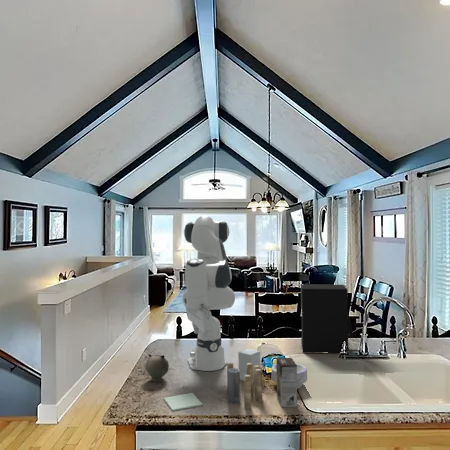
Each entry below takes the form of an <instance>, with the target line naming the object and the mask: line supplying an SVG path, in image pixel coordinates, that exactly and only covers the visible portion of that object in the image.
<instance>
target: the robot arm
mask: <svg viewBox="0 0 450 450" xmlns="http://www.w3.org/2000/svg"><path fill="white" fill-rule="evenodd" d="M183 236H184V239H185V241H186V242H187V243H189V244H191V246H192V247H193V248H194V249H195V251H197V256H196V257H197V258H193V259H189V260H187V261H186V263H185V270H184V272H183V279H184V282H183V283H184V285H185V287H186V289H185V291H184V292H183V294H182V298H181V299H182V303H183V306H184V308H185V311H186V316H187V320H188V321H190V322H191V325H192V328H193V333H194V334H196V335H197V339H196V345H195V346H194V347H193V348H192V351H191V352H189V356H190V357H188V358H187V362H188V365H189V367H190V369H191V370H194V371H195V370H199V371H204V372H205V371H206V372H211V371H212V372H214V371H218V370H222V369H223V368H224V367H225V366H227V363H228V361H226V359H225V348H224V347H223V346H222V337H221V322H220V320H219V319H218V318H217V317H215V316H213V315H212V312H211V310H214V311H215V310H226V309H230V308H232V307H233V306H234V304H235V301H236V296H235V295H236V294H235V291H234V290H233V289H232V288H230V286H229V285H230V284H231V283H232V279H233V277H232V270H231V268H230V266H229V261H228V258H227V253H226V250H225V246H224V243H225V242H227V240H228V238H229V236H230V228H229V225H228V223H227V222H226V221H223V220H214V219H213V218H212V217H210V216H208V215H201V216H199V217H198V218H196V220H195V221H190V222H188V223H186V225H185V226H184V229H183Z"/></svg>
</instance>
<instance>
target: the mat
mask: <svg viewBox="0 0 450 450" xmlns="http://www.w3.org/2000/svg"><path fill="white" fill-rule="evenodd" d="M163 400H164V401H165V403H166V404H167V406H168V407H169V409H170V410H171V412H175V411H176V412H177V411H180V410H186V409H190V408H197V407H202V406H203V403H202V402H201V401H200V399H198V397H197V396H196V395H195V394H194V393H193V392H190V393H184V394H183V393H182V394H178V395H172V396H167V397H163Z"/></svg>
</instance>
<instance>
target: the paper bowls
mask: <svg viewBox="0 0 450 450" xmlns="http://www.w3.org/2000/svg"><path fill="white" fill-rule="evenodd" d="M296 365H297V390H298V389H300V388H301V387H302V386H303V384H304V383H306V382H308V368H307V367H306V366H305V365H303V364H299V363H296ZM271 380H272V381H273V382H274V383H276V384H277V363H275V364H273V365H272V366H271Z"/></svg>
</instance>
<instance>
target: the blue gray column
mask: <svg viewBox="0 0 450 450" xmlns="http://www.w3.org/2000/svg"><path fill="white" fill-rule="evenodd" d="M227 401H228V403H232V404H237V403H240V401H241V380H240V369H239V368H235V367H233V368H232V369H228V393H227Z"/></svg>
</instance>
